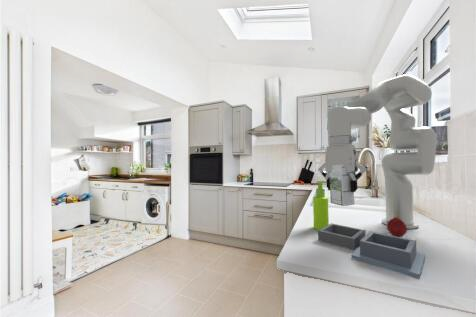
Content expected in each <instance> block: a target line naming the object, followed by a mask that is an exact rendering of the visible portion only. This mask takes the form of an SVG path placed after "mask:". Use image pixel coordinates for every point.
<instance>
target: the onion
mask: <svg viewBox="0 0 476 317" xmlns="http://www.w3.org/2000/svg"><path fill="white" fill-rule="evenodd" d="M386 230H387V231H388V233H389V234H391V236H396V237H401V238H402V237H403V236H404V235H406V233H407V230H408V229H407V227H406V225H405V223H404V222H403V221H402V220H400V219H399V218H398V217H397V216H395V217H394V218H393V219H391V220H390V221H389V222H388V223H387V225H386Z"/></svg>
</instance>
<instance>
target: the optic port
mask: <svg viewBox="0 0 476 317" xmlns="http://www.w3.org/2000/svg"><path fill="white" fill-rule="evenodd" d="M350 256H351V257H350V258H351V259H353V260H357V261H360V262H362V263H365V264H369V265H373V266H376V267H380V268H384V269H387V270H390V271H393V272H395V273H400V274H403V275H405V276H409V277H414V278H415V279H416V278H417V279H421V275H422V272H423V267H424V263H425V259H426V254H425V253H421V252H417V240H415V239H410V238H405V237H402V236H401V237H396V236H393V235H392V234H391V235H390V234H386V233H380V232H375V231H369V232H368V233H367V234H365V237H364V238H362V239H361V240H360V246H359V247H358V248H356V249H355V250H354V252H352V253H351V255H350Z"/></svg>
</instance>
